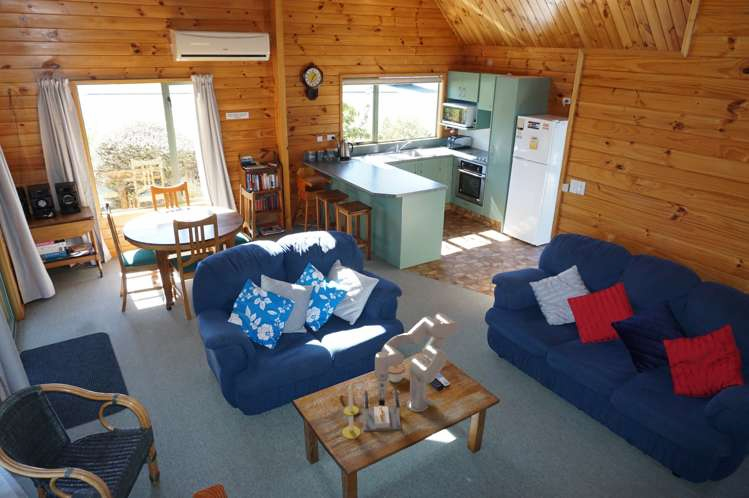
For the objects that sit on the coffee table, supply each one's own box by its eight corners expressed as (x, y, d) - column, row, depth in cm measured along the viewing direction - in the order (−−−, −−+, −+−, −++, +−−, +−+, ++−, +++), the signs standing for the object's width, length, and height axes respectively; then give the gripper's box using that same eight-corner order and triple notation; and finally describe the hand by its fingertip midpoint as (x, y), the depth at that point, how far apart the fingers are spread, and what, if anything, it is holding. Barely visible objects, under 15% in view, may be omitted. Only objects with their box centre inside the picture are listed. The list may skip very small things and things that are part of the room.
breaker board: (398, 410, 297) (398, 388, 291) (401, 429, 282) (401, 407, 276) (363, 411, 296) (362, 389, 290) (363, 431, 281) (363, 408, 275)
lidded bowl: (384, 373, 330) (384, 359, 326) (403, 372, 331) (403, 358, 327) (386, 385, 318) (386, 371, 314) (406, 384, 320) (406, 369, 315)
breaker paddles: (382, 409, 291) (380, 404, 290) (383, 419, 283) (381, 414, 282) (380, 409, 291) (378, 405, 290) (380, 419, 283) (379, 415, 282)
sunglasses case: (363, 414, 294) (358, 407, 290) (353, 422, 293) (348, 415, 289) (352, 396, 309) (347, 389, 306) (343, 403, 308) (337, 396, 305)
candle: (346, 441, 274) (344, 391, 262) (339, 429, 282) (338, 380, 270) (363, 435, 278) (362, 386, 266) (356, 424, 286) (355, 375, 274)
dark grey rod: (367, 392, 290) (367, 390, 290) (368, 409, 277) (368, 407, 276) (364, 392, 290) (364, 390, 290) (365, 409, 277) (365, 407, 276)
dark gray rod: (397, 391, 291) (397, 389, 290) (399, 408, 277) (399, 405, 277) (394, 391, 291) (394, 389, 290) (396, 408, 277) (396, 406, 277)
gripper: (389, 383, 269) (389, 409, 276) (387, 364, 285) (386, 389, 292) (375, 383, 269) (375, 410, 275) (374, 364, 285) (373, 390, 291)
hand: (381, 399), depth 283 cm, fingers open, 9 cm apart
